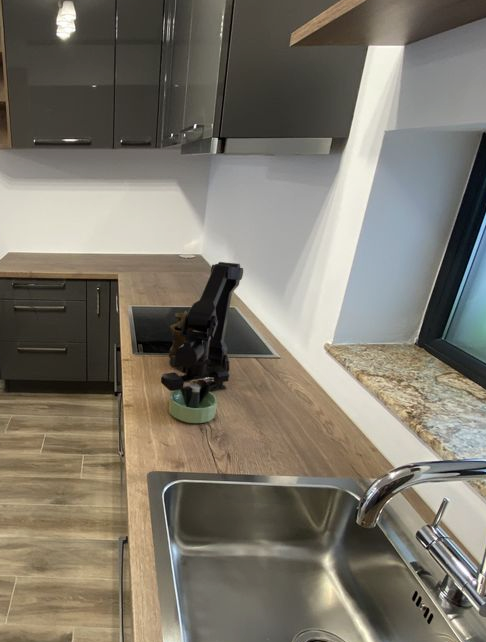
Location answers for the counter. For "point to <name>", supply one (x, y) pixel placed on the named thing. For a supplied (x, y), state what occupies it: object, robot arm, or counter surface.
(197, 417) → the bowl
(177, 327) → the pottery vessel
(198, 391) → the shaker
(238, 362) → the counter surface
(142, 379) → the counter surface
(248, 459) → the counter surface
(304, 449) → the counter surface
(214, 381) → the robot arm
